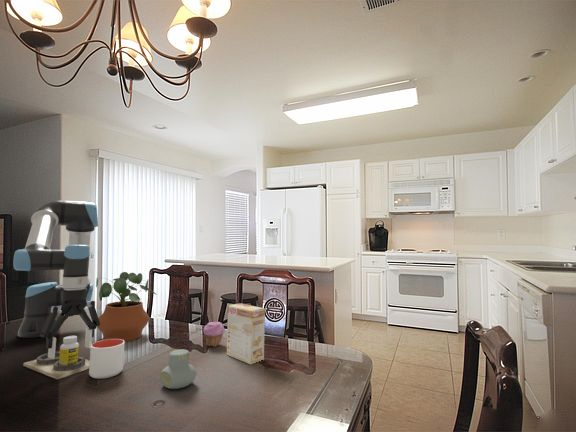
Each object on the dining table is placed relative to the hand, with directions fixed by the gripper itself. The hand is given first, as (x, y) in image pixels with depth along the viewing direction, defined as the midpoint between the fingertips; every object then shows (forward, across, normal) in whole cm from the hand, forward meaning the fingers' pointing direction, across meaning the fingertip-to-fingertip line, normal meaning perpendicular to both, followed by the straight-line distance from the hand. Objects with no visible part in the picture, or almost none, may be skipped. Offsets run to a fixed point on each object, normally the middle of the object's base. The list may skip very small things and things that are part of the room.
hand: (70, 352), depth 111 cm
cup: (+6, +4, -14) cm, 16 cm away
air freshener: (+6, +10, -42) cm, 43 cm away
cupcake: (+6, +45, -26) cm, 52 cm away
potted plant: (+6, +35, +18) cm, 40 cm away
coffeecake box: (+6, +40, -46) cm, 61 cm away
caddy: (+6, 0, +6) cm, 8 cm away
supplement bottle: (+5, 0, 0) cm, 5 cm away
